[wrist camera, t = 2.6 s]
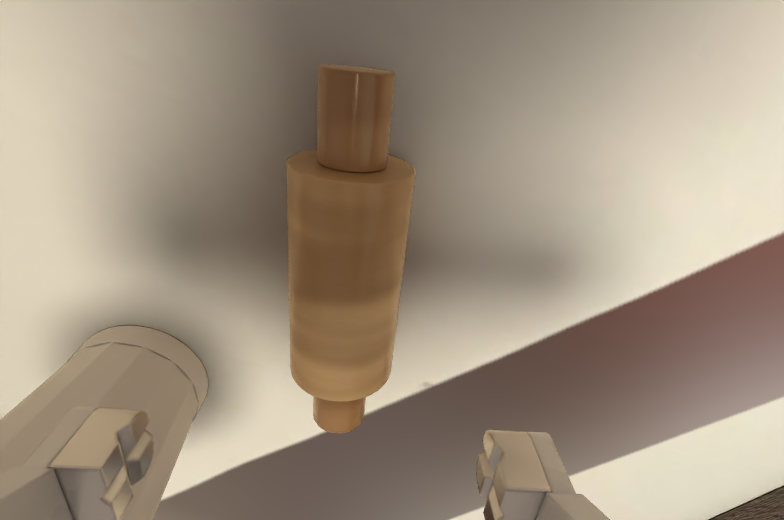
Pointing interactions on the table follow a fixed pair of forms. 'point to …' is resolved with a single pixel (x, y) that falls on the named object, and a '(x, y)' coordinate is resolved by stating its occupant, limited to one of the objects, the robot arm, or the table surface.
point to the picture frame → (759, 508)
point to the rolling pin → (346, 246)
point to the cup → (117, 401)
